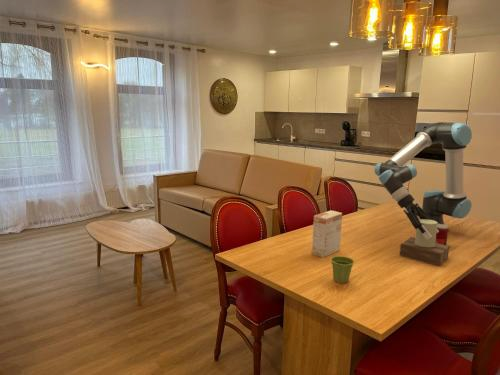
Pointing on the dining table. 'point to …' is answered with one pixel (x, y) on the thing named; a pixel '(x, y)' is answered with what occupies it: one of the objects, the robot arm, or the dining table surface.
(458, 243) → the dining table surface
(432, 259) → the walnut riser
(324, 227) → the coffeecake box
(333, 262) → the plant pot
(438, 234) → the canned food
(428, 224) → the can
